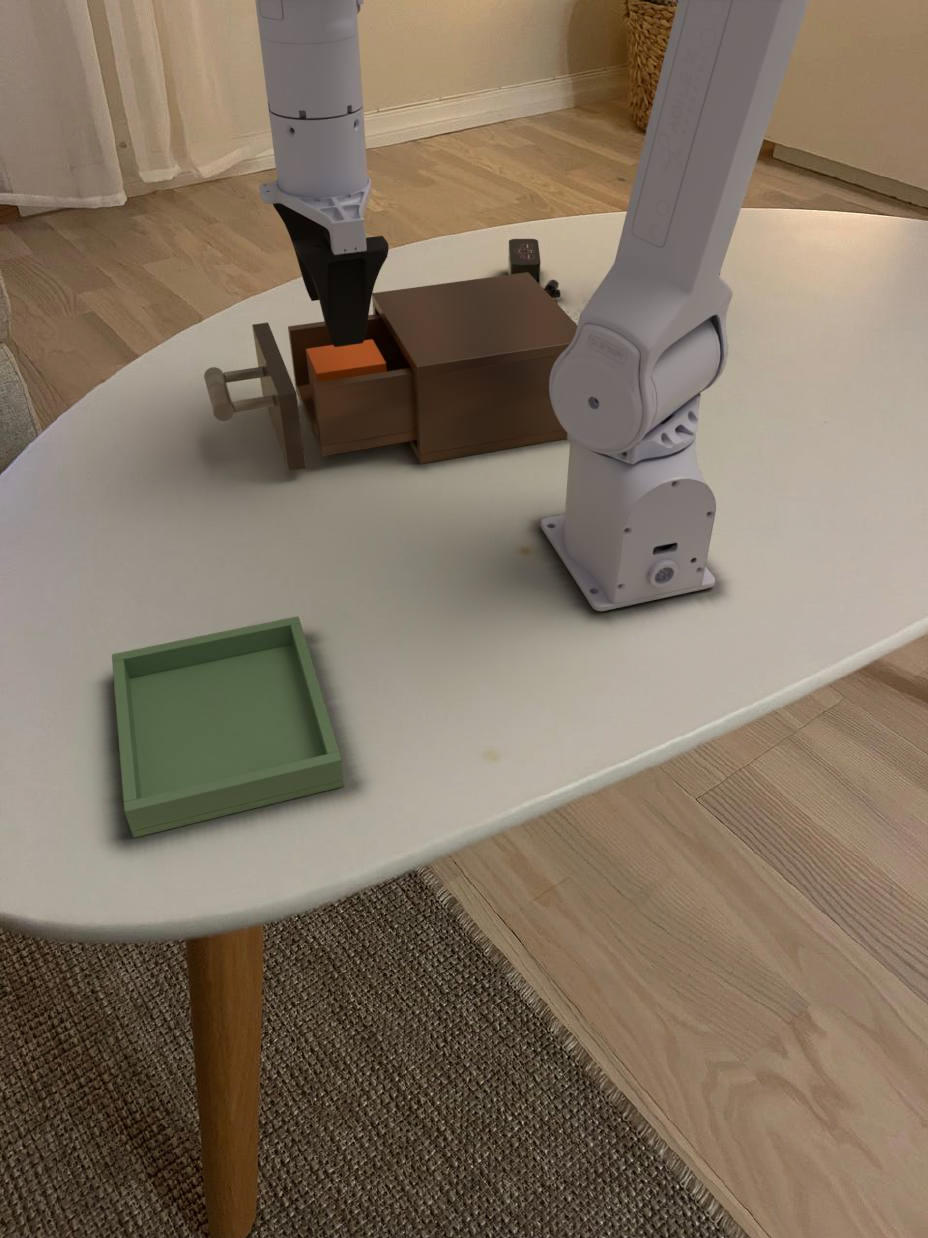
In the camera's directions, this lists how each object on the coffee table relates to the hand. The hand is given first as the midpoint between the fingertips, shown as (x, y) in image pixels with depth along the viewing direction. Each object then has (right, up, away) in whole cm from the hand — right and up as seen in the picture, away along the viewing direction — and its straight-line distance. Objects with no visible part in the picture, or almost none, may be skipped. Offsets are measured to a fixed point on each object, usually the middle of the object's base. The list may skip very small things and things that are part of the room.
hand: (335, 319), depth 70 cm
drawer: (-1, -6, +5) cm, 8 cm away
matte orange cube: (0, -5, +5) cm, 7 cm away
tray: (-4, -27, -17) cm, 32 cm away
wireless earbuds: (+15, +10, +25) cm, 31 cm away
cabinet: (+10, -4, +8) cm, 13 cm away
